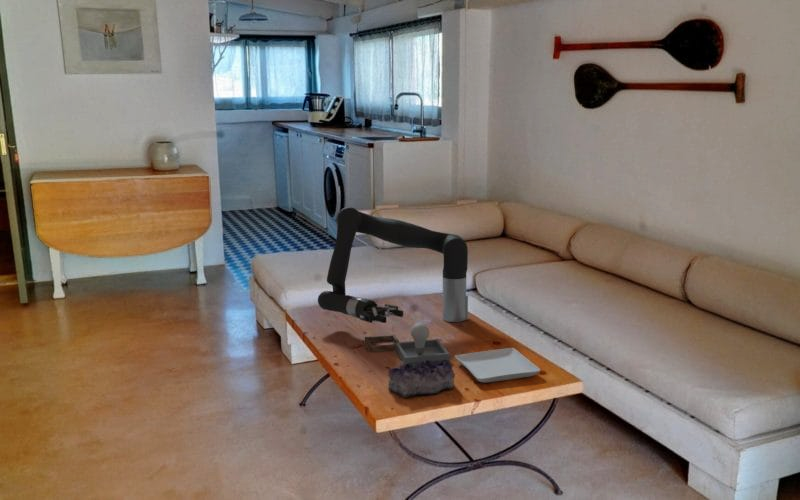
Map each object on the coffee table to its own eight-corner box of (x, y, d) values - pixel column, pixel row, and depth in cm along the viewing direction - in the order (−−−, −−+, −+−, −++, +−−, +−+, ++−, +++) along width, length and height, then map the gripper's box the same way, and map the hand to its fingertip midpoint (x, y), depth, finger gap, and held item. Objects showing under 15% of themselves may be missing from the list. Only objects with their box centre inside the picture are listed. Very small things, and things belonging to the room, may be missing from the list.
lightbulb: (428, 358, 233) (429, 326, 230) (410, 357, 233) (411, 326, 231) (428, 351, 239) (429, 320, 236) (410, 350, 239) (411, 320, 237)
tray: (438, 347, 246) (437, 339, 245) (449, 362, 231) (449, 353, 231) (395, 350, 243) (395, 342, 242) (405, 366, 228) (405, 357, 228)
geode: (444, 377, 219) (447, 348, 216) (460, 396, 209) (463, 366, 206) (383, 384, 213) (385, 355, 209) (395, 404, 202) (398, 373, 199)
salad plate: (478, 388, 211) (478, 378, 210) (453, 364, 231) (453, 354, 230) (542, 380, 217) (542, 369, 216) (513, 356, 237) (513, 347, 236)
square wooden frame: (394, 339, 255) (394, 334, 254) (401, 349, 244) (400, 344, 244) (364, 341, 252) (364, 336, 252) (369, 352, 242) (369, 347, 242)
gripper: (347, 303, 249) (379, 311, 238) (375, 294, 259) (407, 302, 248) (347, 323, 251) (380, 332, 240) (376, 313, 261) (408, 322, 250)
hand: (394, 317), depth 244 cm, fingers open, 8 cm apart
